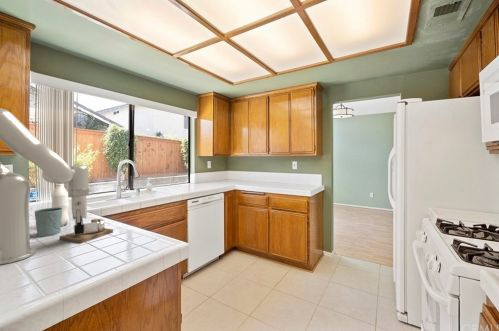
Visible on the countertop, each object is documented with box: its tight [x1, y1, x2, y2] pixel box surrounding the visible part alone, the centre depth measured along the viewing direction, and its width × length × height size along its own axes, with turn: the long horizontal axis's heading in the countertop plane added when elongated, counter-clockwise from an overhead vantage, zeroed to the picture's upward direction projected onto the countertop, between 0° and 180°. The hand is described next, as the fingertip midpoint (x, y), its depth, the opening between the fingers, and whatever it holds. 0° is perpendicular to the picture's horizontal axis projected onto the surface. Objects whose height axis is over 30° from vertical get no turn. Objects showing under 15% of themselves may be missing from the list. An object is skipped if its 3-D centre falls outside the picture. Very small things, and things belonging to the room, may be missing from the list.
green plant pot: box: [34, 207, 62, 238], centre depth 110 cm, size 10×10×12 cm
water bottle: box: [51, 183, 70, 227], centre depth 124 cm, size 7×7×25 cm
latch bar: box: [73, 218, 106, 235], centre depth 107 cm, size 12×4×5 cm, turn 123°
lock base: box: [59, 218, 114, 244], centre depth 107 cm, size 15×14×6 cm
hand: (79, 233), depth 101 cm, fingers closed
